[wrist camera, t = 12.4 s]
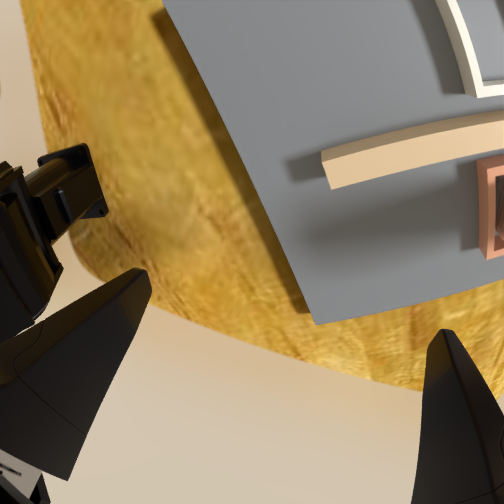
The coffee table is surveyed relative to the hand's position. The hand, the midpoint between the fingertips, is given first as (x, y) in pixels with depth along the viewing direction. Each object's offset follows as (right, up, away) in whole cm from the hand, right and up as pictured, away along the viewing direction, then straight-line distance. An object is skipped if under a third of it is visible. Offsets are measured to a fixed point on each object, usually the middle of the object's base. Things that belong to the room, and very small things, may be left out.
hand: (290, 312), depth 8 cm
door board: (+9, +9, +7) cm, 14 cm away
